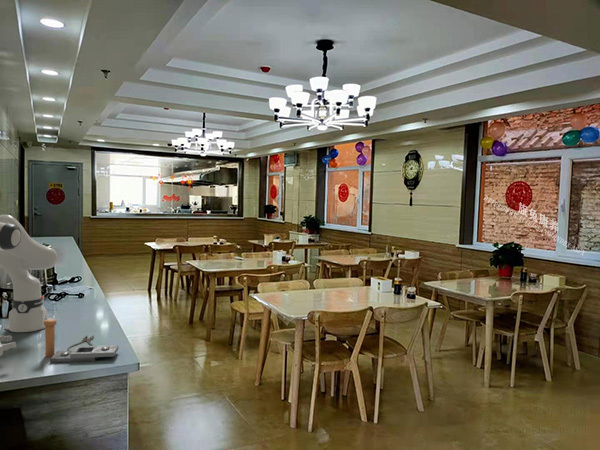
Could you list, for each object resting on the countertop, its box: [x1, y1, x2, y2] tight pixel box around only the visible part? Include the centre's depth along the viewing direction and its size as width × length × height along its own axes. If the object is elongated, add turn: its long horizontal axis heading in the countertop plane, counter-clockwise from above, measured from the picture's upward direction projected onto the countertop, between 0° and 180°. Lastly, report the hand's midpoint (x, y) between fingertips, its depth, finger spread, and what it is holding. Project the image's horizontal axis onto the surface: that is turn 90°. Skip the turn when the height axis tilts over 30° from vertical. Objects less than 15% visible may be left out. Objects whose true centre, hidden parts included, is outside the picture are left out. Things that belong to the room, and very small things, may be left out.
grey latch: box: [49, 344, 119, 364], centre depth 177 cm, size 9×23×4 cm, turn 102°
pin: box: [44, 318, 57, 358], centre depth 177 cm, size 4×4×14 cm
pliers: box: [66, 335, 95, 351], centre depth 193 cm, size 10×1×20 cm
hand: (13, 341), depth 169 cm, fingers open, 8 cm apart
